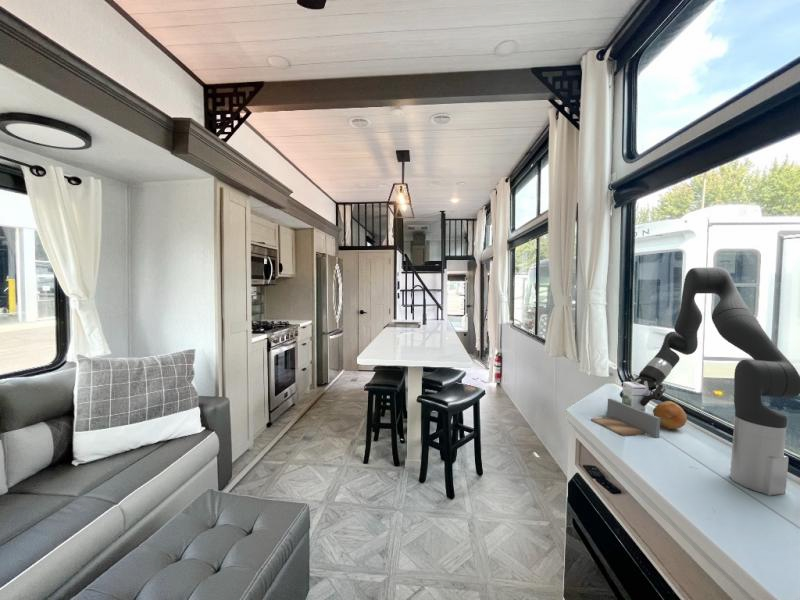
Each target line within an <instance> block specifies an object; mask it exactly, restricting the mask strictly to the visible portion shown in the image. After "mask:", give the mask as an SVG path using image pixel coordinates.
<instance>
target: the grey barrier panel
mask: <svg viewBox="0 0 800 600" xmlns="http://www.w3.org/2000/svg"><path fill="white" fill-rule="evenodd" d="M606 417H612V418H615V419H617V420H619V421H621V422H623V423H626V424H628V425H630V426H632V427H634V428H637V429H639V430H641V431H643V432H645V433H646V434H645V435H648V436H650V437H653V438H654V439H659V438H660V431H661V430H660V428H661V425H660V419H661V418H659V417H657V416H654V414H653V413H652V414H651V413H649V412H646V411H645V412H644V411H641V410H639V409H636V408H634V407H631V406H629V405H626V404H623V403H622V401H618V400H615V399H612V398H607V409H606Z"/></svg>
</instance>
